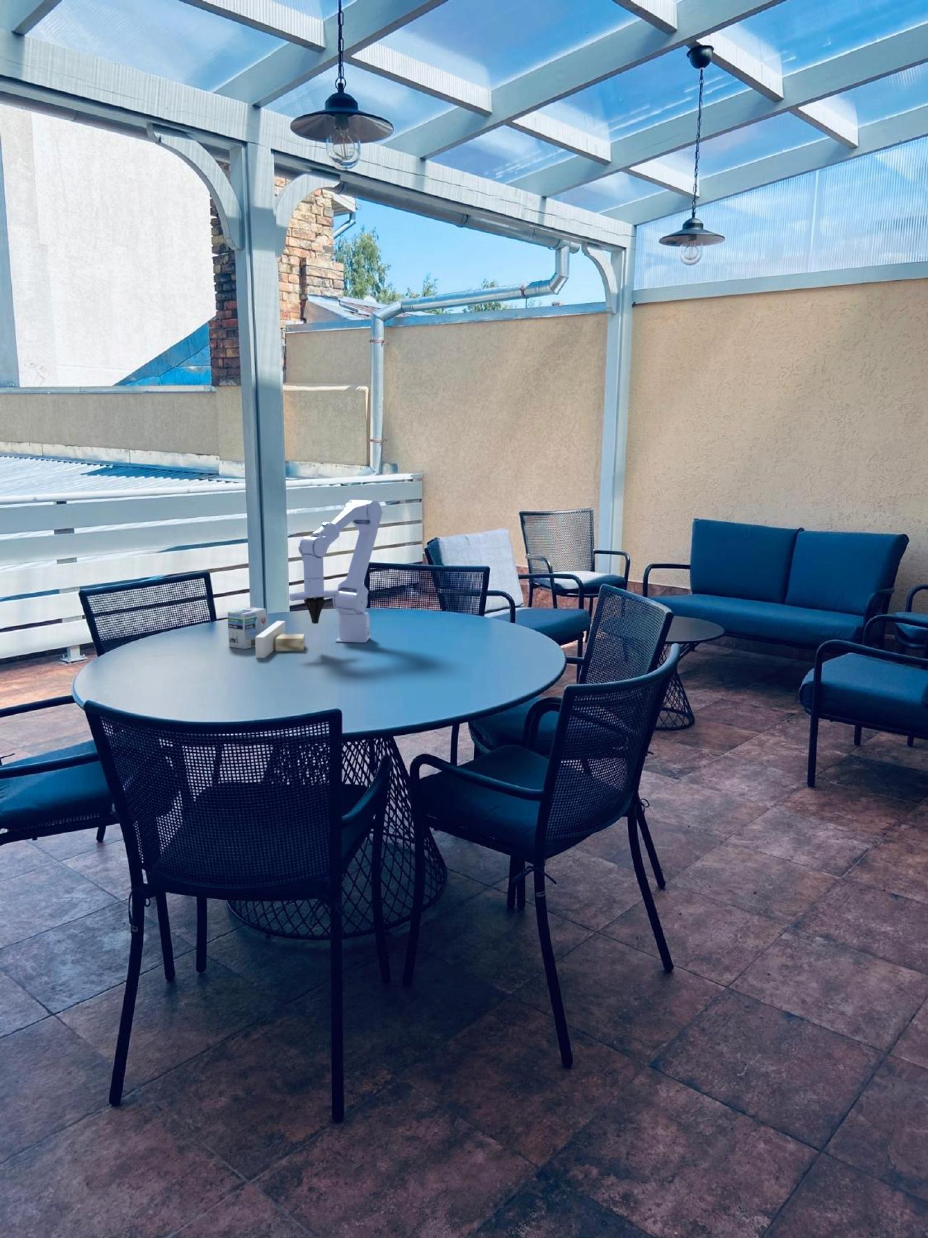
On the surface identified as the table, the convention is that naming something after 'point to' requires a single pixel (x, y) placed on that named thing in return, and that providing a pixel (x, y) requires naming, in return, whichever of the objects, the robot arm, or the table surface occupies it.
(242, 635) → the light bulb box
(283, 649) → the maple block
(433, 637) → the table surface
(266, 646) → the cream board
